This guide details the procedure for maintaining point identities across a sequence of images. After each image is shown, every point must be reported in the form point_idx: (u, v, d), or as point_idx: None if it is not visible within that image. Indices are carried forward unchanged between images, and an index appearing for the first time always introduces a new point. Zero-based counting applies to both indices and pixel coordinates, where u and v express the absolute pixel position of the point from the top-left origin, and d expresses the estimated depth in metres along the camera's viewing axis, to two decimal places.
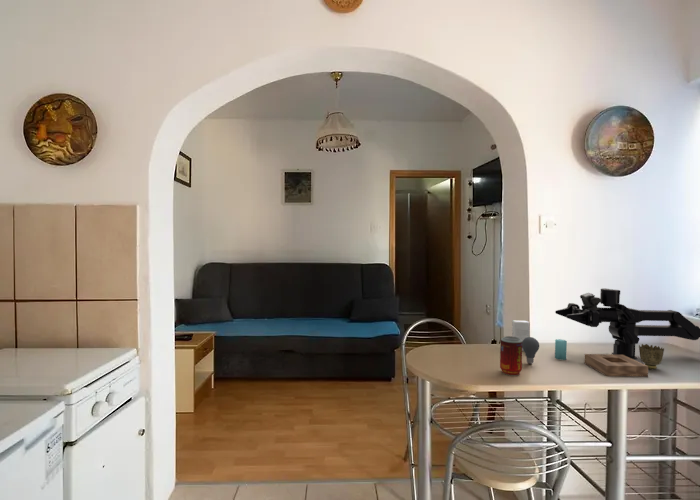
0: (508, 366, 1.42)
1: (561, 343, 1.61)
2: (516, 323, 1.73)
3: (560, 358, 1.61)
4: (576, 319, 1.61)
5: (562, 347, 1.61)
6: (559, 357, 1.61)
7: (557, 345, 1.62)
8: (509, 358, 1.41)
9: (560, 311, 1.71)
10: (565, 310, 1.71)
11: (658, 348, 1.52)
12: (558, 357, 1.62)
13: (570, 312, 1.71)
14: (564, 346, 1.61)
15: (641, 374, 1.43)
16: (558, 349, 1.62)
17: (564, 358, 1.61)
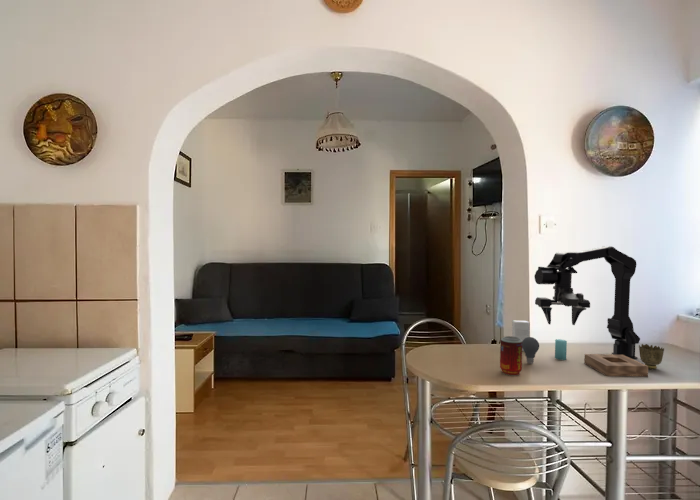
0: (508, 366, 1.42)
1: (561, 343, 1.61)
2: (516, 323, 1.73)
3: (560, 358, 1.61)
4: None
5: (562, 347, 1.61)
6: (559, 357, 1.61)
7: (557, 345, 1.62)
8: (509, 358, 1.41)
9: None
10: None
11: (658, 348, 1.52)
12: (558, 357, 1.62)
13: None
14: (564, 346, 1.61)
15: (641, 374, 1.43)
16: (558, 349, 1.62)
17: (564, 358, 1.61)
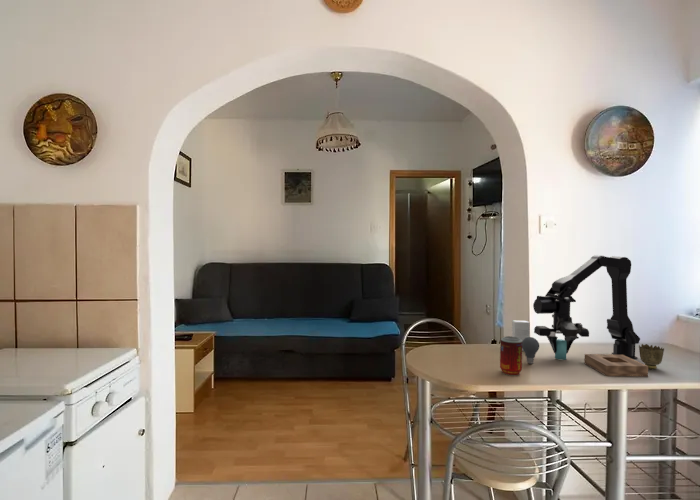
0: (508, 366, 1.42)
1: (561, 343, 1.61)
2: (516, 323, 1.73)
3: (560, 358, 1.61)
4: None
5: (562, 347, 1.61)
6: (559, 357, 1.61)
7: (557, 345, 1.62)
8: (509, 358, 1.41)
9: None
10: None
11: (658, 348, 1.52)
12: (558, 357, 1.62)
13: None
14: (564, 346, 1.61)
15: (641, 374, 1.43)
16: (558, 349, 1.62)
17: (564, 358, 1.61)
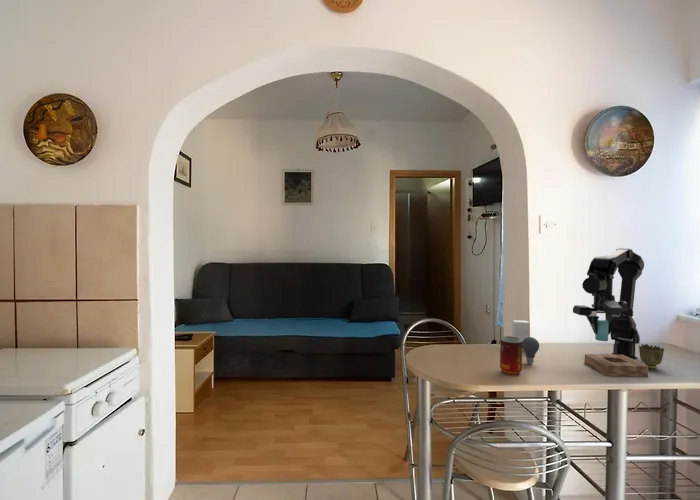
0: (508, 366, 1.42)
1: (603, 323, 1.50)
2: (516, 323, 1.73)
3: (602, 339, 1.51)
4: None
5: (604, 327, 1.50)
6: (600, 338, 1.51)
7: (598, 326, 1.51)
8: (509, 358, 1.41)
9: None
10: None
11: (658, 348, 1.52)
12: (599, 338, 1.51)
13: None
14: (606, 326, 1.50)
15: (641, 374, 1.43)
16: (599, 330, 1.51)
17: (605, 340, 1.51)
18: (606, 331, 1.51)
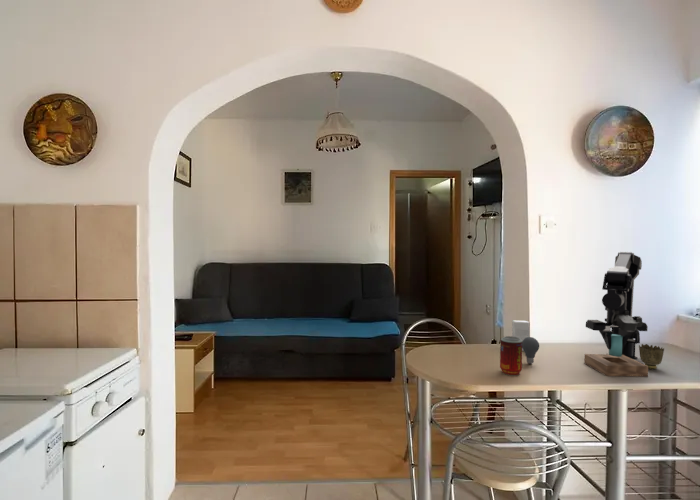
0: (508, 366, 1.42)
1: (617, 338, 1.47)
2: (516, 323, 1.73)
3: (615, 355, 1.48)
4: None
5: (618, 343, 1.47)
6: (614, 353, 1.48)
7: (612, 341, 1.48)
8: (509, 358, 1.41)
9: None
10: None
11: (658, 348, 1.52)
12: (613, 353, 1.48)
13: None
14: (620, 341, 1.47)
15: (641, 374, 1.43)
16: (613, 345, 1.48)
17: (619, 355, 1.48)
18: (620, 346, 1.48)
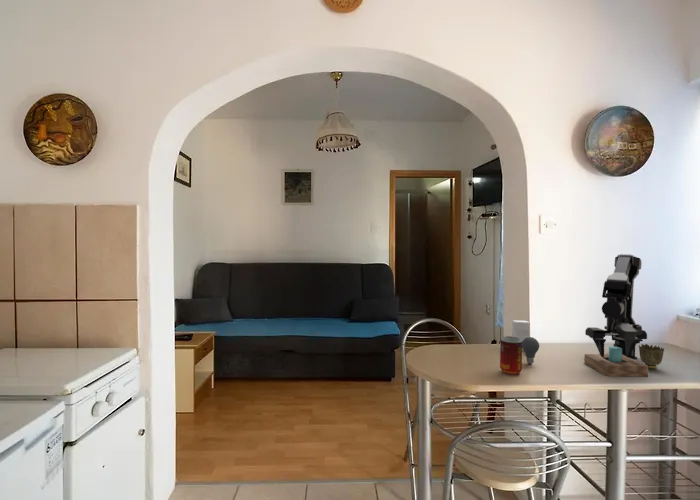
0: (508, 366, 1.42)
1: (616, 351, 1.48)
2: (516, 323, 1.73)
3: None
4: None
5: (617, 355, 1.48)
6: None
7: (612, 353, 1.49)
8: (509, 358, 1.41)
9: None
10: None
11: (658, 348, 1.52)
12: None
13: None
14: (619, 354, 1.48)
15: (641, 374, 1.43)
16: (613, 357, 1.48)
17: None
18: (620, 359, 1.48)
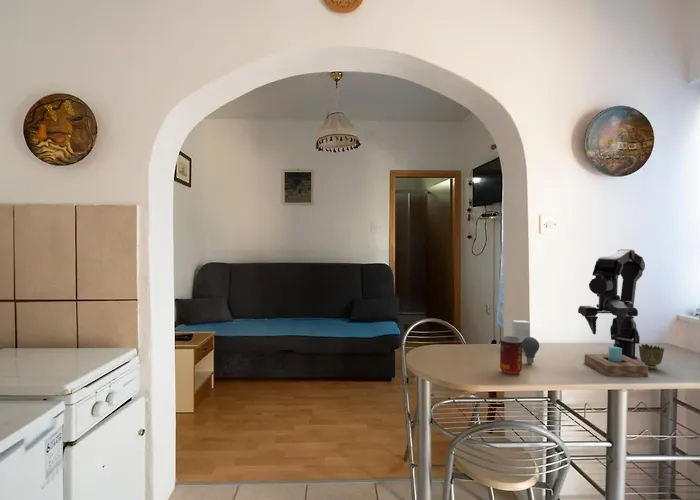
0: (508, 366, 1.42)
1: (616, 351, 1.48)
2: (516, 323, 1.73)
3: None
4: None
5: (617, 355, 1.48)
6: None
7: (612, 353, 1.49)
8: (509, 358, 1.41)
9: None
10: None
11: (658, 348, 1.52)
12: None
13: None
14: (619, 354, 1.48)
15: (641, 374, 1.43)
16: (613, 357, 1.48)
17: None
18: (619, 359, 1.48)
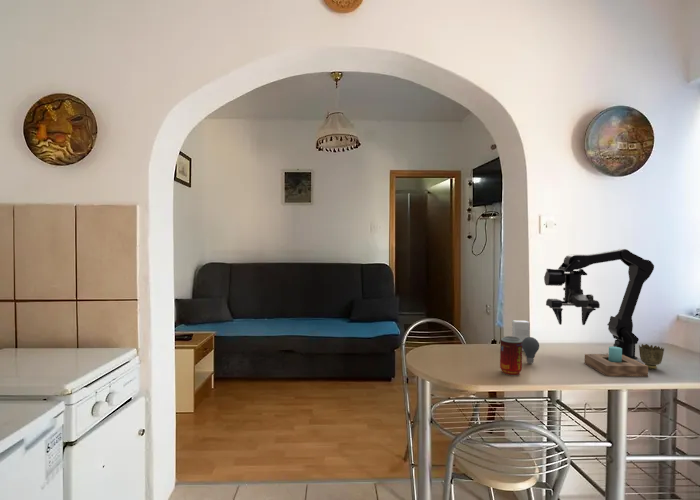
0: (508, 366, 1.42)
1: (616, 351, 1.48)
2: (516, 323, 1.73)
3: None
4: None
5: (617, 355, 1.48)
6: None
7: (612, 353, 1.48)
8: (509, 358, 1.41)
9: None
10: None
11: (658, 348, 1.52)
12: None
13: None
14: (619, 354, 1.48)
15: (641, 374, 1.43)
16: (613, 357, 1.48)
17: None
18: (620, 359, 1.48)
